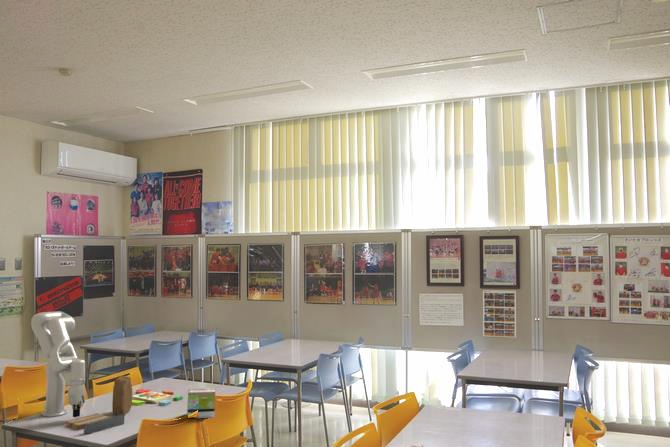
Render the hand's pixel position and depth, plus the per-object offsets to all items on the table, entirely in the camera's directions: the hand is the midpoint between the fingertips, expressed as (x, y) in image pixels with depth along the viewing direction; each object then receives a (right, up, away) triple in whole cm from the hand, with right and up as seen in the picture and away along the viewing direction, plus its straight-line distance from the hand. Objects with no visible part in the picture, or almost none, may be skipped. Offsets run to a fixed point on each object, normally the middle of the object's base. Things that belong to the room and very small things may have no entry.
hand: (76, 416), depth 297 cm
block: (+19, -4, +16) cm, 25 cm away
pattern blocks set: (+25, -6, +47) cm, 54 cm away
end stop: (+21, -2, -14) cm, 25 cm away
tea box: (+66, -4, +12) cm, 67 cm away
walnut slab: (+9, -2, -6) cm, 12 cm away
